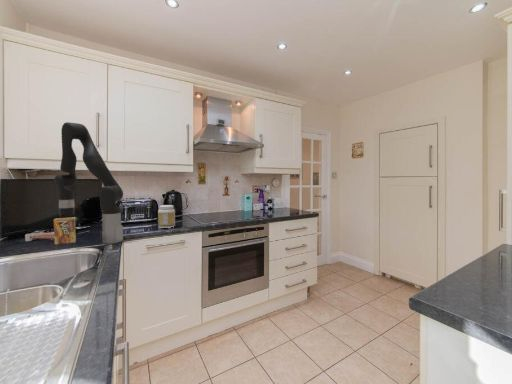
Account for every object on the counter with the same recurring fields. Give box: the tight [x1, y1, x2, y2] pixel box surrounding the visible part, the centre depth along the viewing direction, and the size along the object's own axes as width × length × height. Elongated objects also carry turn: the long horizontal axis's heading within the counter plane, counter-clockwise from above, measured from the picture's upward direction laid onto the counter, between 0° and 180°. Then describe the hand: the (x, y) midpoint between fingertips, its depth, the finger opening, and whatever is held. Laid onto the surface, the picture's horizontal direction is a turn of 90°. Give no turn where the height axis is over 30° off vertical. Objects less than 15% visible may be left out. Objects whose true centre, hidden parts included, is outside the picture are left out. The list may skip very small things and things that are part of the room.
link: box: [30, 231, 55, 240], centre depth 138 cm, size 22×5×3 cm, turn 86°
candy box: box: [53, 216, 77, 246], centre depth 128 cm, size 9×4×15 cm, turn 122°
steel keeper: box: [24, 230, 44, 242], centre depth 135 cm, size 10×11×4 cm
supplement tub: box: [157, 204, 176, 229], centre depth 177 cm, size 12×12×17 cm
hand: (67, 234), depth 143 cm, fingers closed
